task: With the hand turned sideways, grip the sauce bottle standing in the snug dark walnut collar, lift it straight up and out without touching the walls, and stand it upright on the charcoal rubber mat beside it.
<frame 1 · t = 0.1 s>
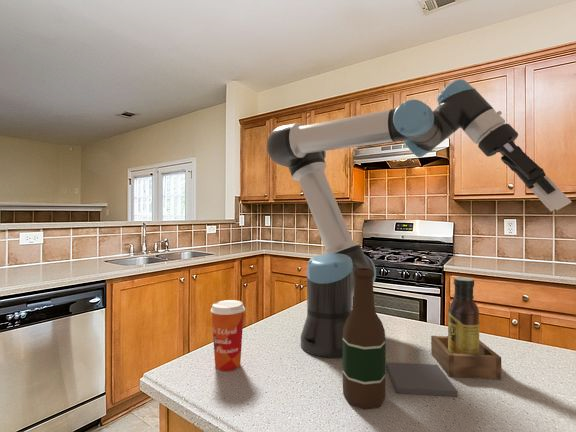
hand: (560, 207, 69), 36 cm above the countertop, tool tilted 35°, fingers open, 13 cm apart
sauce bottle: (463, 366, 74), resting in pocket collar
paper cup: (228, 366, 74), on the countertop
beer bottle: (363, 399, 61), on the countertop
rubber mat: (418, 380, 67), on the countertop
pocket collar: (463, 365, 74), on the countertop
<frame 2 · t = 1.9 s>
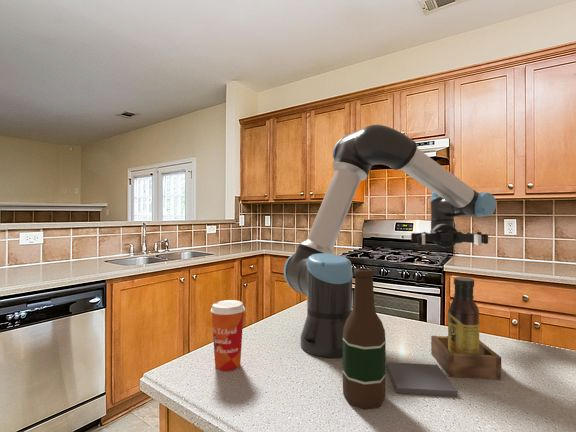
hand: (450, 240, 88), 27 cm above the countertop, tool horizontal, fingers open, 13 cm apart
nothing on the countertop moved.
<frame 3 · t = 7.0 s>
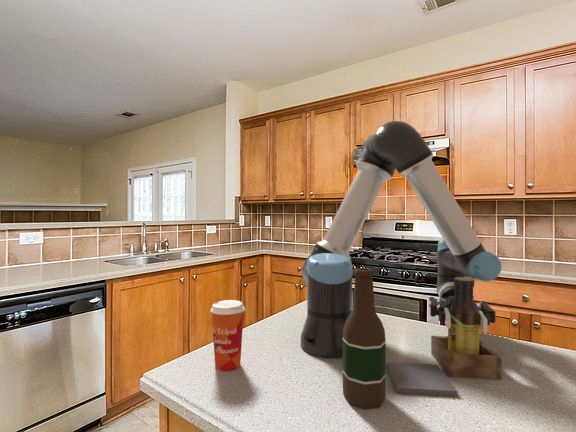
hand: (466, 323, 69), 11 cm above the countertop, tool horizontal, fingers closed on sauce bottle, 6 cm apart
sauce bottle: (463, 366, 74), resting in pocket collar, touching gripper
everything else where it was.
when the fingers open (13 cm above the countertop, at t = 12.5 s): sauce bottle drops 1 cm, resting on rubber mat.
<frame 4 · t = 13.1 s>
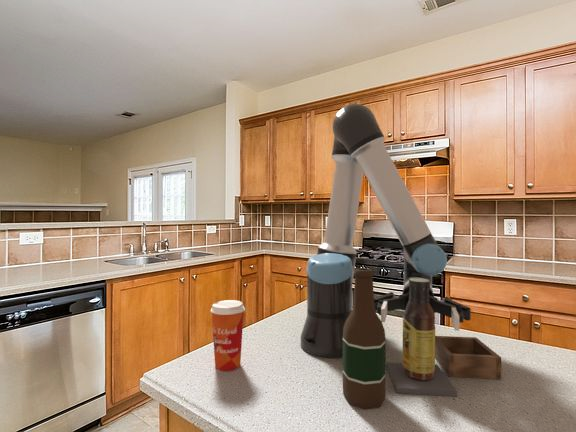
hand: (418, 319, 64), 13 cm above the countertop, tool horizontal, fingers open, 13 cm apart
sauce bottle: (418, 376, 67), point 1 cm above the countertop, touching rubber mat
everything else where it was.
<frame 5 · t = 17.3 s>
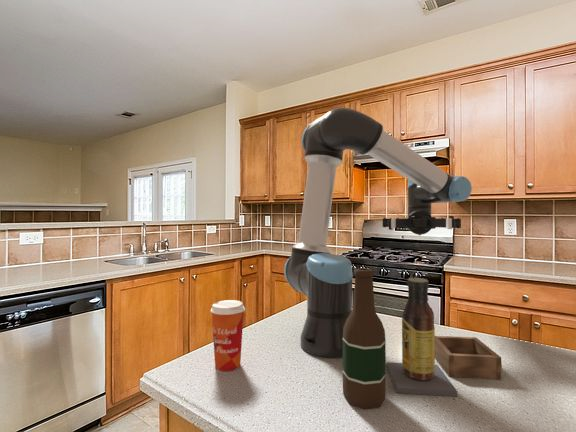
hand: (420, 223, 83), 32 cm above the countertop, tool horizontal, fingers open, 13 cm apart
nothing on the countertop moved.
at the end: sauce bottle inside the target area on the rubber mat (0.0 cm from its centre), point 0.8 cm above the rubber mat's base; sauce bottle tilted 1°; the gripper is holding nothing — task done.
